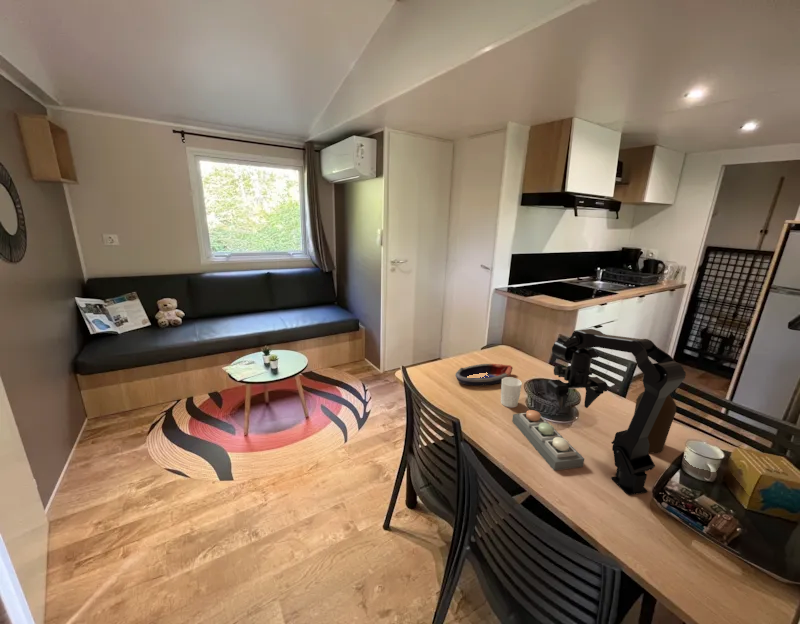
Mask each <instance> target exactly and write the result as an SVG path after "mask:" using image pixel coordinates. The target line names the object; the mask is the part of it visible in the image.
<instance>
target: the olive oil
mask: <svg viewBox="0 0 800 624" xmlns="http://www.w3.org/2000/svg"><path fill="white" fill-rule="evenodd" d="M643 393H644V391H642V392H641V393H640V394H639V395H637V397H636V401H635V407H634V413H633V415H634V414H635V411H636V409H637V407H638V404H639V402H640V400H641V397H642V395H643ZM676 413H677V405H676V402H675V400H674V399H673V398H672V396H671V394H669V395H668V396H667V397H666V399H665V401H664V403H663V406H662V408H661V410H660V412H659V414H658V416H657V418H656V420H655V423H654V425H653V427H652V429H651V431H650V433H649V435H648V441H649V445H650V446H649V450H648V453H649V454H660V453H662V452H663V450H664V448H665V444H666V441H667V439H668V435H669V432H670V429H671V427H672V424H673V421H674V418H675V417H676Z"/></svg>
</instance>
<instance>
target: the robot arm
mask: <svg viewBox="0 0 800 624" xmlns="http://www.w3.org/2000/svg"><path fill="white" fill-rule="evenodd" d="M588 348H589V349H588ZM590 348H592V349H590ZM593 348H600V349H606V350H612V351H613V350H614V351H619V352H623V353H630V354H632V355H633V356H634V358H635V362H636V365H637V368H638V369H639V370H640V372H642V374H643V376H642V384H643V388H644V390H643V392H644V393H643V395H642V397H641V400H640V402H639V404H638V407H637V409H636V411H635V410H634V412H635V414H634V413H633V416H632V418H631V421H630V423H629V425H628V428H627V429H625V430H620V431H616V433H615V435H614V439H613V441H611V444H612V447H611V449H612V451H613V458H614V459H613V461H614V465H615V467H616V472H615V476H611V478H610V479H611V480H612V482H614V483H615V484H616V485H617V486H618V487H619V488H620V489H621V490H622V491H623V493H624V492H625V493H626V495H628V496H633V495H639V494H645V493H648V489H646V487H645V484H646V480H647V477H648V474H647V473H646V472H648V471H653V469H654V468H655V467H656V464H655V463H654V461H653V458H652V457H651V455H650V453H649V452H648V450H649V446H650V445H649V441H648V435H649V433H650V431H651V429H652V427H653V425H654V423H655V420H656V418H657V416H658V414H659V412H660V410H661V408H662V406H663V403H664V401H665V399H666V397H667V396H668V395H671V394H672V393H673V392H674V391H675V390H676V389H678V388H679V386H680V385H681V384H682V383H683V381H684V380H685V378H686V376H687V375H686V371H685V370H684V367H683V366H682V365H681V364H680V363H679V362H676V360H674V358H673V357H672V356H671V355H670V354H668V353H667V352H666V351H664V350H662V349H661V348H660V347H658V346H657V345H656V344H655V342H653V341H652V340H650V339H648V338H635V337H627V336H626V337H625V336H621V335H620V336H619V335H614V334H613V335H611V334H605V333H603V332H601V331H600V330H597V329H594V328H587V329H586V328H585V329H577V330H574V331H573V332H572V334H571V336H569V338H568V339H567V338H566V337H563V336H560V337H558V338H557V340H556V341H555V342H554V344H553V345H552V346H551V351H552V353H553V355H554V356H557V357H559V358H561V359H563V360H565V361H568V362H569V361H570V365H567V367H563V366H562V365H555V366H553V375H554V376H558V378H563V380H564V381H566V382H563V381H562V380H561V379H549V380H548V381H547V385H546V387H547V389H549V390H550V391H551V392H552V393H553V394H555V395H556V397H557V402H558V405H559V409H560V410H561V411H563V410H564V409H565V406H566V404H567V400H568V398H569V395H568V393H569V390H572V389H573V390H575V389H585V396H584V403H583V404H584V406H583V407H584V408H585V409H587V408H589V407H590V406H591V405H592V404H593V402H595V401H596V399H597V398H599V396H601V395H602V394H604V393H605V392H607V391H608V388H609V385H608V383H607V382H606V381H604V380H603V379H601V378H599V377H598V376H592V375H593V371H592V370H591V366H592V365H591V364H592V359H597V358H599V355H598V353H597V352H596V351H595V349H593ZM650 359H651V360H653V361H654V362H655V363H653V362H652V361H651V360H650ZM591 376H592V377H591ZM625 493H624V494H625Z"/></svg>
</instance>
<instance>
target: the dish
mask: <svg viewBox="0 0 800 624" xmlns="http://www.w3.org/2000/svg"><path fill="white" fill-rule="evenodd" d="M486 372H487V373H488V374H487V375H488V376H489V377H488V376H486V375H485V376H484V377H485V378H484V377H482V378H481V377H480V378H467V376H469V375H473V374H479V373H486ZM512 372H513V366H512V365H510V364H509V365H508V364H500V363H480V364H474V365H470V366H465V367H460V368H459V369H458V370H457V371H456V373H455V374H454V375H455V377H456V380H457V381H458V382H459V383H460V384H462V385H467V386H479V387H480V386H490V385H495V384H499V383H500V384H501V382H502V379H503V378H505V377H510V375H511V373H512Z"/></svg>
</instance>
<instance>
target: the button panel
mask: <svg viewBox="0 0 800 624" xmlns="http://www.w3.org/2000/svg"><path fill="white" fill-rule="evenodd" d="M511 419H512V420H511V421H512V423H513V424H514V425H515V427H516V428H517V429H518V430H519V431H520V432H521V433H522V435H523V436H524V437H525V438H526V440H528V441H529V443H530V444H531V445H532V447H533V448H534V449H535V450H536V451H537V453H538V454H539V455H540V456H541V458H543V460H545V462H546V464H548V465H549V467H550V468H551V469H552V471H562V470H567V469H577V468H583V467H584V464H585V458H584V456H583V455H581V453H580V452H578V450H576V448H575V447H574V446H573V445H571V444H570V445H569V450H568V451H559V450H557V449H555V448H554V447H553V445H552V443H553V439H554V438H555V437H560V438H564V437H563V436H562V435H561V434H560V433H559V432H558V430H556V429H555V428H554V433H553V435H544V434H542V433H540V432H539V430H538V428H539V424H540V423H548V424H550V422H548V421H547V420H546V419H545V418H544V417H543V416H542V415H541V416H540V420H539V421H536V422H535V421H531V420H529V419H527V418H526V412H521V413H520V412H519V413H513V414H512V418H511Z"/></svg>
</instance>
